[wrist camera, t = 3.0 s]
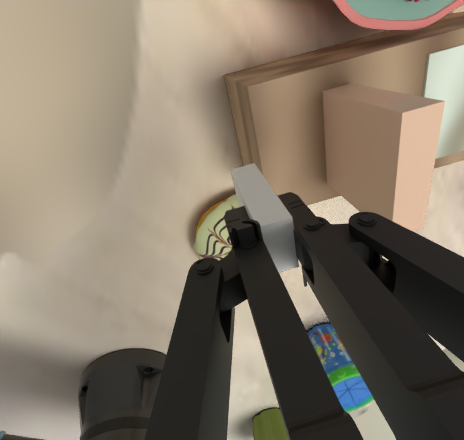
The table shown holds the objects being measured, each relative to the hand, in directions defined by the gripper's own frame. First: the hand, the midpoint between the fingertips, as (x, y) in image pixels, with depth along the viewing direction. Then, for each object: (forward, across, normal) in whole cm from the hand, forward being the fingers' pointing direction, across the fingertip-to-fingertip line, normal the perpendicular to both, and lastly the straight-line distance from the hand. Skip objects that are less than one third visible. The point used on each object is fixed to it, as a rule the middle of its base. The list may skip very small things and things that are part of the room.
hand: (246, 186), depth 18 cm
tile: (+4, -8, 0) cm, 9 cm away
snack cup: (+14, -9, +39) cm, 42 cm away
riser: (+14, -13, 0) cm, 19 cm away
